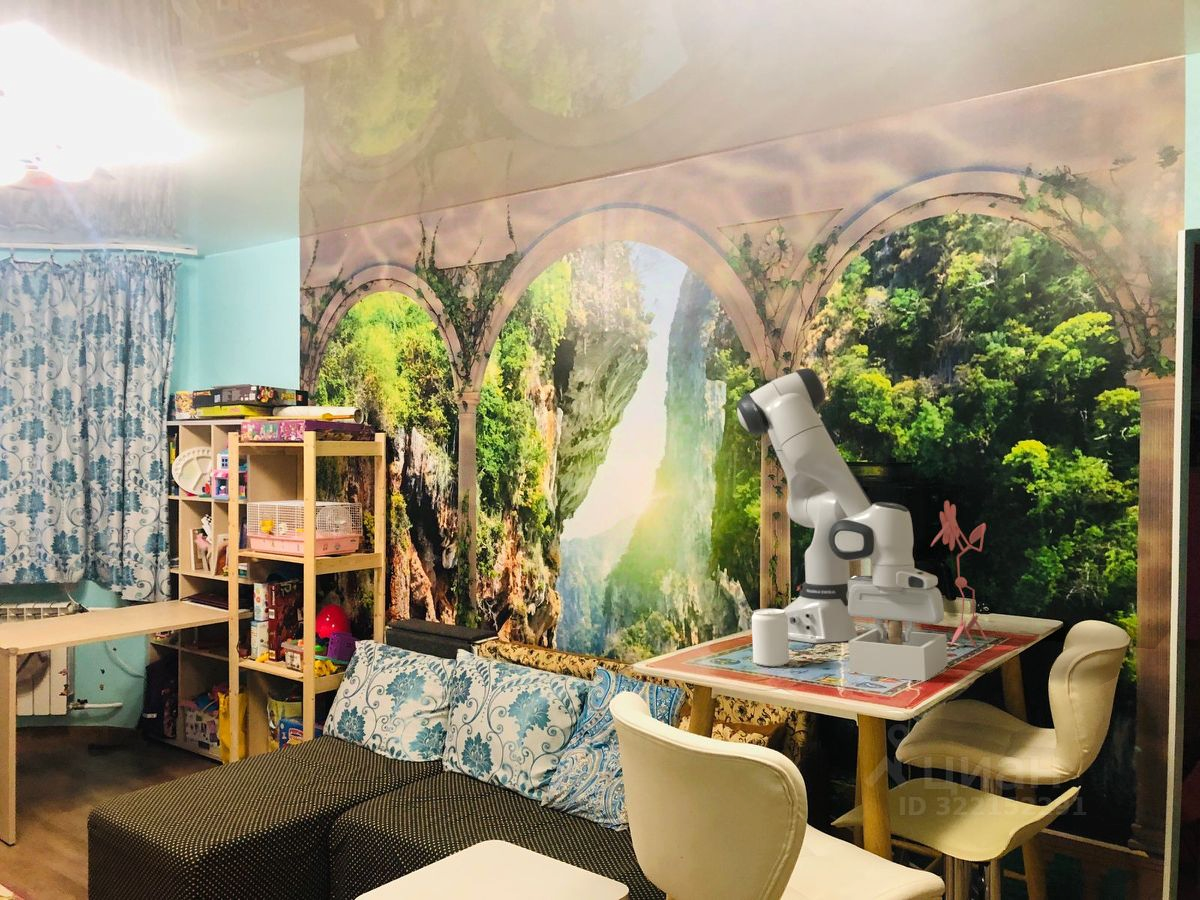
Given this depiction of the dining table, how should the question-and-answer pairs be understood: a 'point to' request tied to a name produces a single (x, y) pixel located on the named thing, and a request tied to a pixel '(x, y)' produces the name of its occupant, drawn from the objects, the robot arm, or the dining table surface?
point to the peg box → (899, 655)
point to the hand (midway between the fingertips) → (895, 640)
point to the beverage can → (770, 637)
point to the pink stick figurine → (949, 535)
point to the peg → (895, 632)
